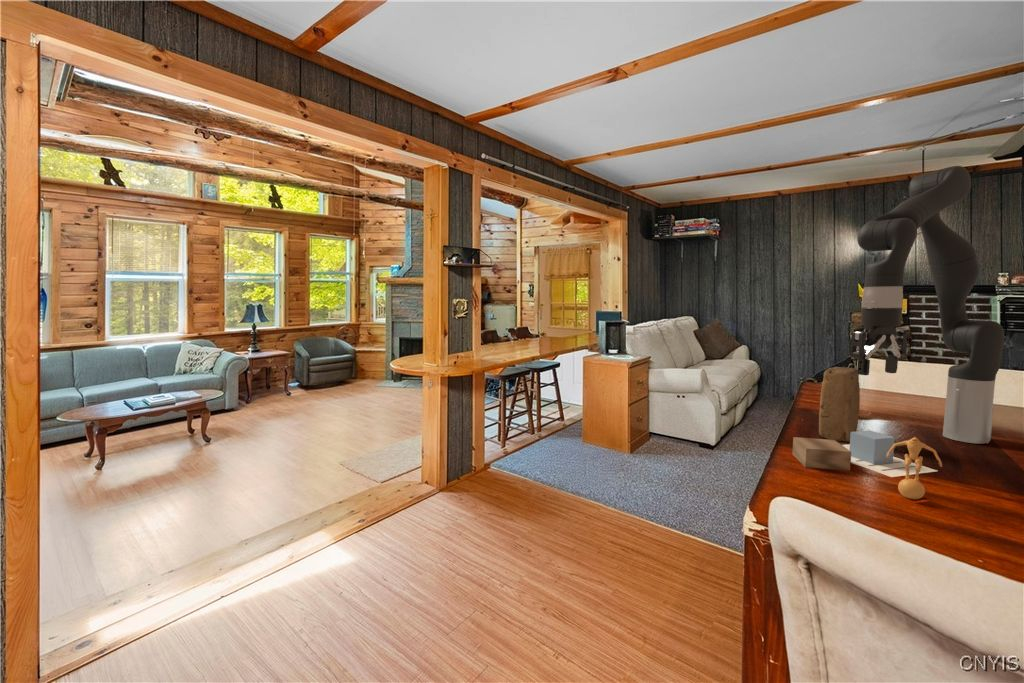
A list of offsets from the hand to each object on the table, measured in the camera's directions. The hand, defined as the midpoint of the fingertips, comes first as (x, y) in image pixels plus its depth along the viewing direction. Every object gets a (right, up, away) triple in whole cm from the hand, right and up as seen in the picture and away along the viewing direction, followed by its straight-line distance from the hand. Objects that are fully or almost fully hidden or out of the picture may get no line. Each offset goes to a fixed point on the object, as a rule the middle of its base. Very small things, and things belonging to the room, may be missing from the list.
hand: (876, 373), depth 109 cm
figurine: (-8, -23, -18) cm, 31 cm away
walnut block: (-14, -22, 0) cm, 26 cm away
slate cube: (0, -21, +2) cm, 21 cm away
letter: (0, -21, +2) cm, 21 cm away
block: (+5, -20, +20) cm, 28 cm away
